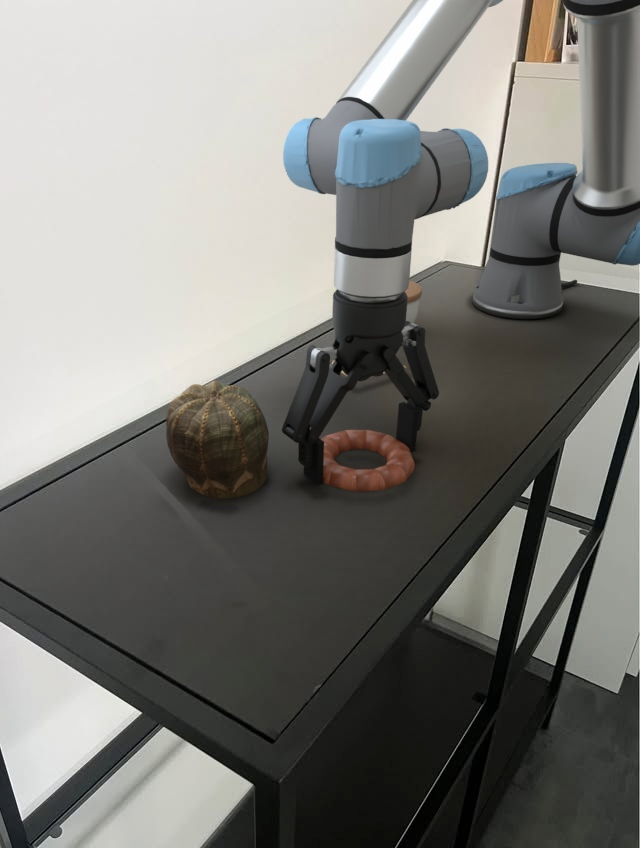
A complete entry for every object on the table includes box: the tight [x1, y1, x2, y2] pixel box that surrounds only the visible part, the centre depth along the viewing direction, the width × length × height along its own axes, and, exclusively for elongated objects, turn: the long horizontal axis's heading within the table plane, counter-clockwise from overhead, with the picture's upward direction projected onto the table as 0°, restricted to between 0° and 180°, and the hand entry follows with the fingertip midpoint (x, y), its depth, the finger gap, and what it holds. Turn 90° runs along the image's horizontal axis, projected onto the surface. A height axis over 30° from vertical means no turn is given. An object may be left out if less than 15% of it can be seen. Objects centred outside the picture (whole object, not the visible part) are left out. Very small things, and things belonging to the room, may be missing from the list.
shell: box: [165, 380, 270, 499], centre depth 83 cm, size 11×11×12 cm
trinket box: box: [405, 279, 423, 324], centre depth 122 cm, size 11×11×9 cm
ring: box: [320, 429, 416, 492], centre depth 88 cm, size 12×12×3 cm
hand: (360, 471), depth 89 cm, fingers open, 12 cm apart
